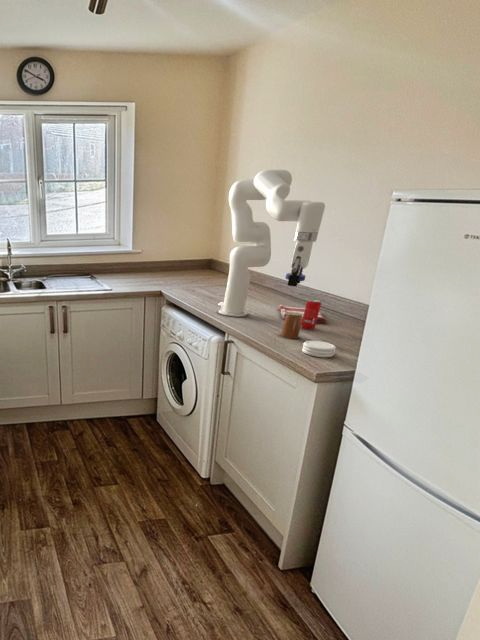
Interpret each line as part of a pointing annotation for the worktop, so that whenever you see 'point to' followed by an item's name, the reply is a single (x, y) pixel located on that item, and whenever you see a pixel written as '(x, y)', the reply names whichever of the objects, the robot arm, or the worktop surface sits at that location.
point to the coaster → (318, 349)
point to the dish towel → (287, 309)
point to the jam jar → (292, 325)
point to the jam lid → (301, 277)
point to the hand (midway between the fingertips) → (293, 284)
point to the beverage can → (311, 314)
